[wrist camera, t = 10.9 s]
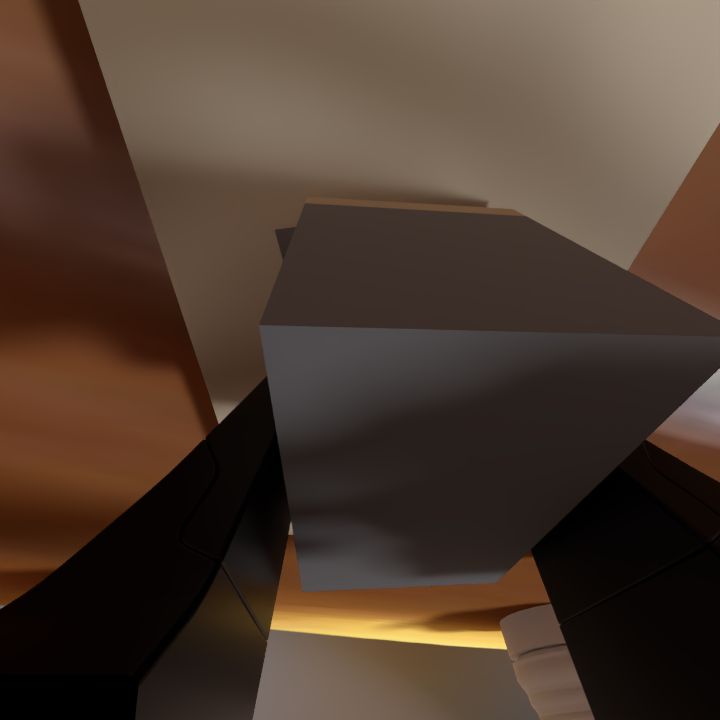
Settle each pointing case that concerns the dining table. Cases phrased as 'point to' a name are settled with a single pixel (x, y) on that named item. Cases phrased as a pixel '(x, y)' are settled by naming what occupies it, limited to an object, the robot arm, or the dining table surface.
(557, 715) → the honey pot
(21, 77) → the dining table surface
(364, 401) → the block
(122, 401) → the dining table surface
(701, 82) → the board
